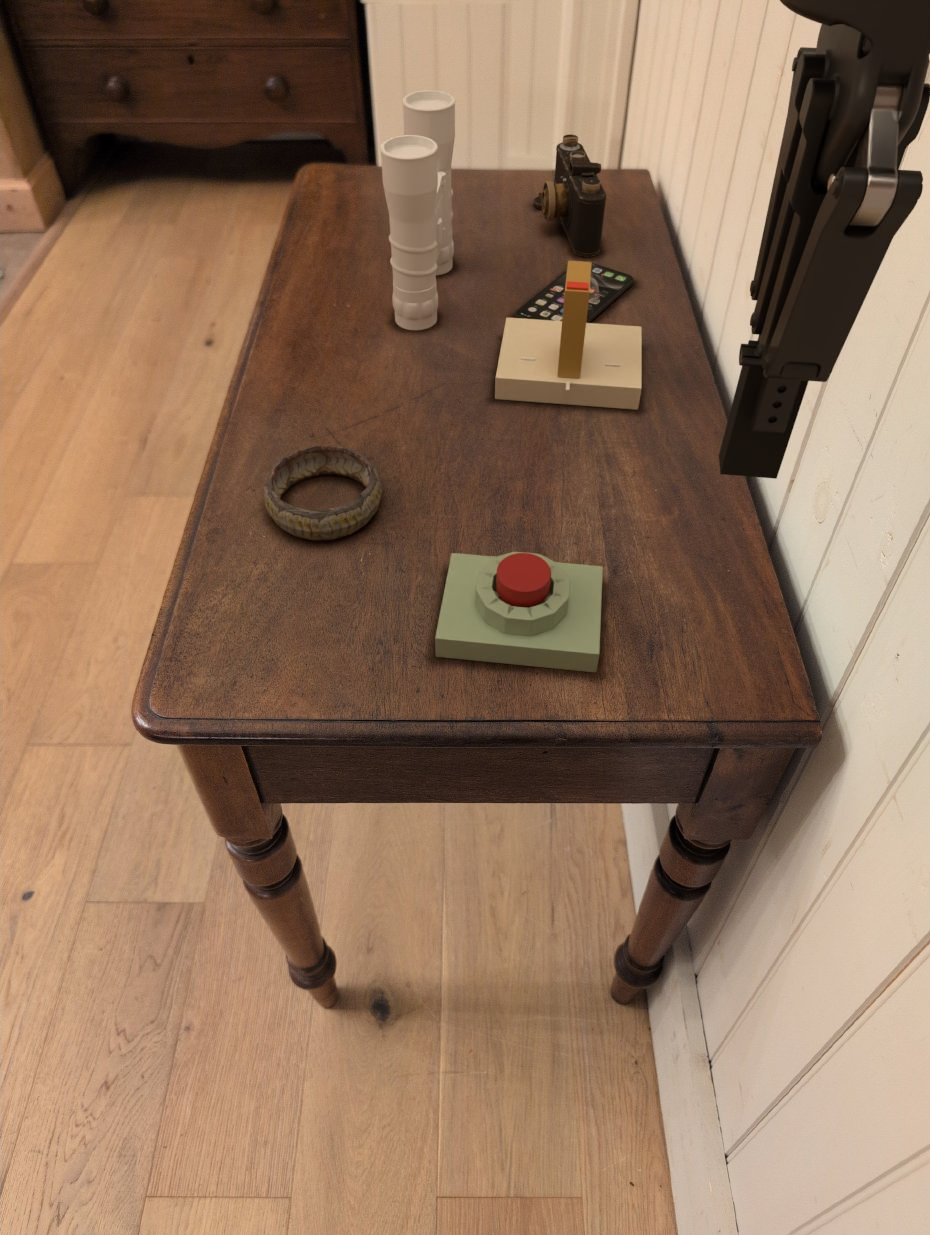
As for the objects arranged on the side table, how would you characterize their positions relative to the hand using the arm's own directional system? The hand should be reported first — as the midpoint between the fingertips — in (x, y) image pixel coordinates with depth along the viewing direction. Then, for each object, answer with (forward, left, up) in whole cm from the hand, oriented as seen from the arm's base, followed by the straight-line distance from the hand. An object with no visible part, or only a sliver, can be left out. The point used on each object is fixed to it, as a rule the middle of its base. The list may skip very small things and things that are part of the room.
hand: (747, 466), depth 45 cm
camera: (+11, -76, -25) cm, 81 cm away
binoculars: (+26, -58, -25) cm, 68 cm away
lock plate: (+9, -44, -24) cm, 51 cm away
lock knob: (+9, -42, -22) cm, 48 cm away
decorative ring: (+29, -21, -25) cm, 43 cm away
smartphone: (+9, -58, -24) cm, 64 cm away
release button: (+11, -10, -21) cm, 26 cm away
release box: (+11, -10, -24) cm, 29 cm away
